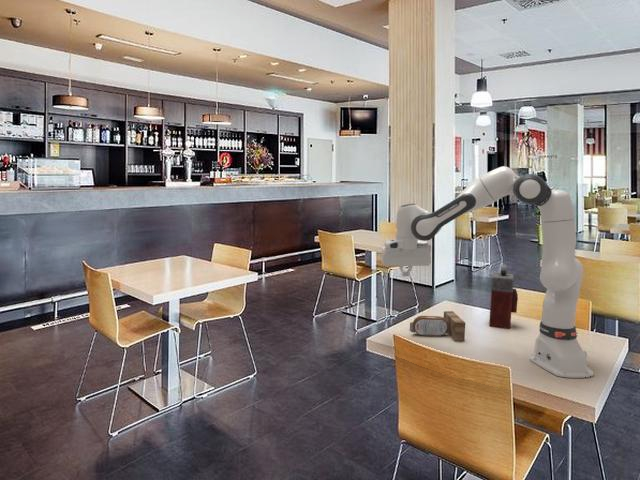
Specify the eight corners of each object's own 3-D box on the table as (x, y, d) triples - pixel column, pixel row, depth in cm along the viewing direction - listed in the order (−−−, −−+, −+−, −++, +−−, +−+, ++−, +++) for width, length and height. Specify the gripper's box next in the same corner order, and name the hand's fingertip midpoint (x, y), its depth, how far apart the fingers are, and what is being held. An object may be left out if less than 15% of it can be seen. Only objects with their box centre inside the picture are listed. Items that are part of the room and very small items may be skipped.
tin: (447, 334, 209) (448, 315, 208) (448, 337, 206) (449, 318, 205) (411, 333, 210) (412, 314, 209) (413, 336, 207) (413, 317, 206)
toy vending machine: (515, 329, 216) (520, 268, 212) (489, 326, 220) (493, 266, 216) (515, 323, 225) (520, 264, 220) (490, 320, 229) (494, 262, 224)
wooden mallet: (464, 341, 201) (465, 322, 200) (419, 341, 200) (419, 323, 199) (451, 328, 217) (452, 311, 216) (409, 328, 216) (410, 311, 215)
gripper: (429, 242, 203) (428, 274, 205) (380, 242, 202) (380, 274, 204) (433, 244, 197) (432, 277, 199) (383, 244, 196) (382, 278, 198)
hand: (405, 276), depth 201 cm, fingers closed
